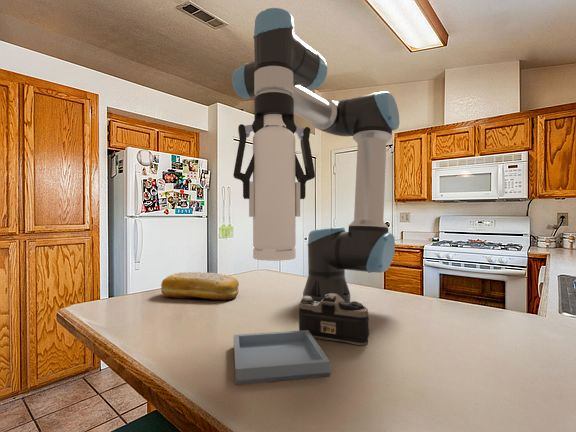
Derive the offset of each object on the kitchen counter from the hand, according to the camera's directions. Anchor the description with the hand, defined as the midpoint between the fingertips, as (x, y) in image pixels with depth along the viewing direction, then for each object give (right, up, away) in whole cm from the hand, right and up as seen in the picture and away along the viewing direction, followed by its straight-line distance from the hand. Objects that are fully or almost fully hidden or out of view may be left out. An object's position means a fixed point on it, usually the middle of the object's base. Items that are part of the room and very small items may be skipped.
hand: (274, 216), depth 65 cm
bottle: (0, -8, 0) cm, 8 cm away
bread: (-27, -28, +50) cm, 63 cm away
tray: (0, -27, 0) cm, 27 cm away
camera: (+14, -28, +13) cm, 33 cm away
